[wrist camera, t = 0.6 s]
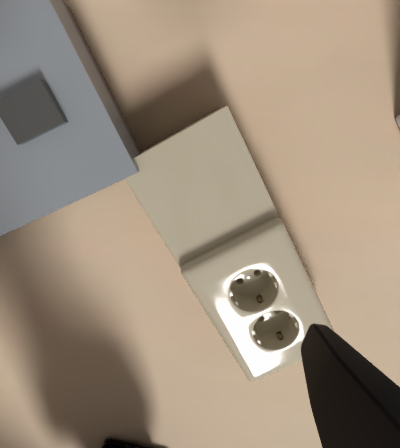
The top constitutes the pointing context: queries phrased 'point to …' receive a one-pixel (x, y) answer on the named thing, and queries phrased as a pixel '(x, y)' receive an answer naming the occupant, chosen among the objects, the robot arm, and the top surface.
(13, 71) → the grey block with pocket
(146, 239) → the top surface
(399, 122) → the light bulb box
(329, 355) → the robot arm
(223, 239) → the electrical outlet
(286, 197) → the top surface
